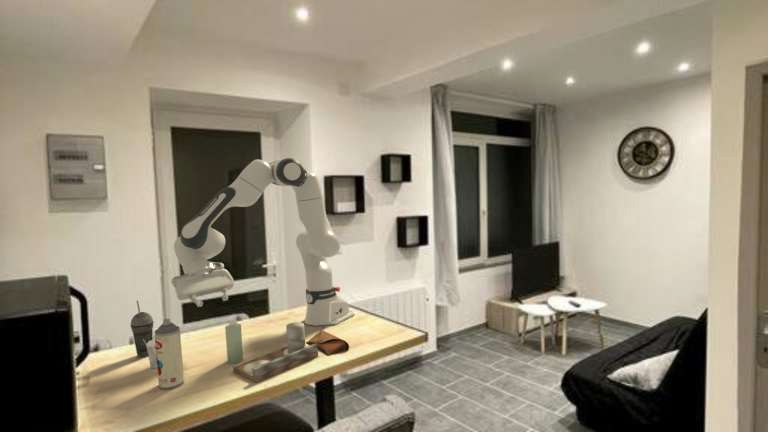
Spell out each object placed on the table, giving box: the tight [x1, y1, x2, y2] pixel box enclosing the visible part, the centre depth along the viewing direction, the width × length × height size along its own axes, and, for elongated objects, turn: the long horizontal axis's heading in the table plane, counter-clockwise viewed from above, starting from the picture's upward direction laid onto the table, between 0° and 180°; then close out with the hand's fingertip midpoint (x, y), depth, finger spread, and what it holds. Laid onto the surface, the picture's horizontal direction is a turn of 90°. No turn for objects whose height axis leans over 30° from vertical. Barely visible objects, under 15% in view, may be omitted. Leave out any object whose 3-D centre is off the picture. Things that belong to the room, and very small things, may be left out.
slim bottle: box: [224, 318, 244, 365], centre depth 143 cm, size 5×5×14 cm
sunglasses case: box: [305, 329, 350, 357], centre depth 154 cm, size 18×7×7 cm, turn 39°
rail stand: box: [232, 321, 319, 383], centre depth 140 cm, size 24×13×11 cm, turn 139°
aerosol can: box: [154, 318, 185, 391], centre depth 127 cm, size 7×7×20 cm
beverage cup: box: [130, 300, 155, 359], centre depth 151 cm, size 7×7×20 cm
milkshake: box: [143, 338, 157, 370], centre depth 141 cm, size 4×5×10 cm
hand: (213, 302), depth 151 cm, fingers open, 8 cm apart
